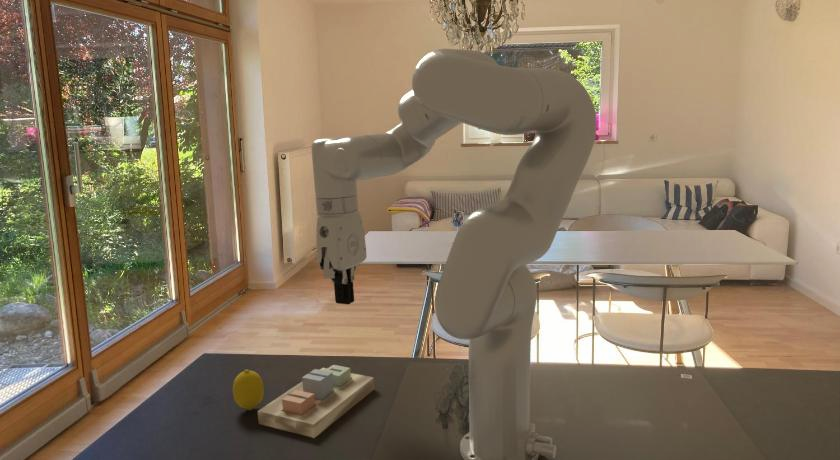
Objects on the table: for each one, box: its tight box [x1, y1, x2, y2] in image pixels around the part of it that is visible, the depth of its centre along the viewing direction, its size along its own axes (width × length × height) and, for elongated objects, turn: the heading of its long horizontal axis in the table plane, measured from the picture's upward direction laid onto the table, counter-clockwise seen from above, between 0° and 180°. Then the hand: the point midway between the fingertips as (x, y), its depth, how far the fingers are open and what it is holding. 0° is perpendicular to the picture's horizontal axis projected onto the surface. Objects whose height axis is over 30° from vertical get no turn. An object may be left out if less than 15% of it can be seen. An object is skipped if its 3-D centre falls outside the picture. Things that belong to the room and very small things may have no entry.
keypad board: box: [257, 367, 375, 439], centre depth 119 cm, size 12×20×2 cm, turn 153°
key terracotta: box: [282, 390, 315, 416], centre depth 114 cm, size 5×4×4 cm
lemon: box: [232, 369, 265, 411], centre depth 118 cm, size 6×6×8 cm
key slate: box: [301, 368, 334, 401], centre depth 119 cm, size 4×4×4 cm
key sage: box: [325, 364, 352, 387], centre depth 124 cm, size 4×4×4 cm
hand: (345, 302), depth 120 cm, fingers closed
